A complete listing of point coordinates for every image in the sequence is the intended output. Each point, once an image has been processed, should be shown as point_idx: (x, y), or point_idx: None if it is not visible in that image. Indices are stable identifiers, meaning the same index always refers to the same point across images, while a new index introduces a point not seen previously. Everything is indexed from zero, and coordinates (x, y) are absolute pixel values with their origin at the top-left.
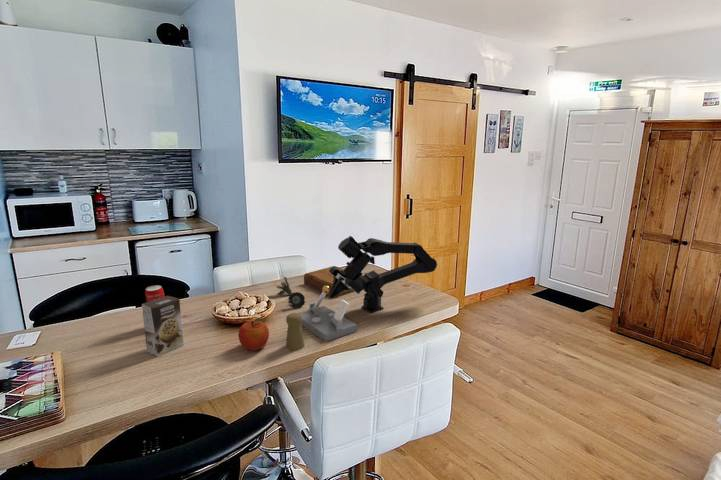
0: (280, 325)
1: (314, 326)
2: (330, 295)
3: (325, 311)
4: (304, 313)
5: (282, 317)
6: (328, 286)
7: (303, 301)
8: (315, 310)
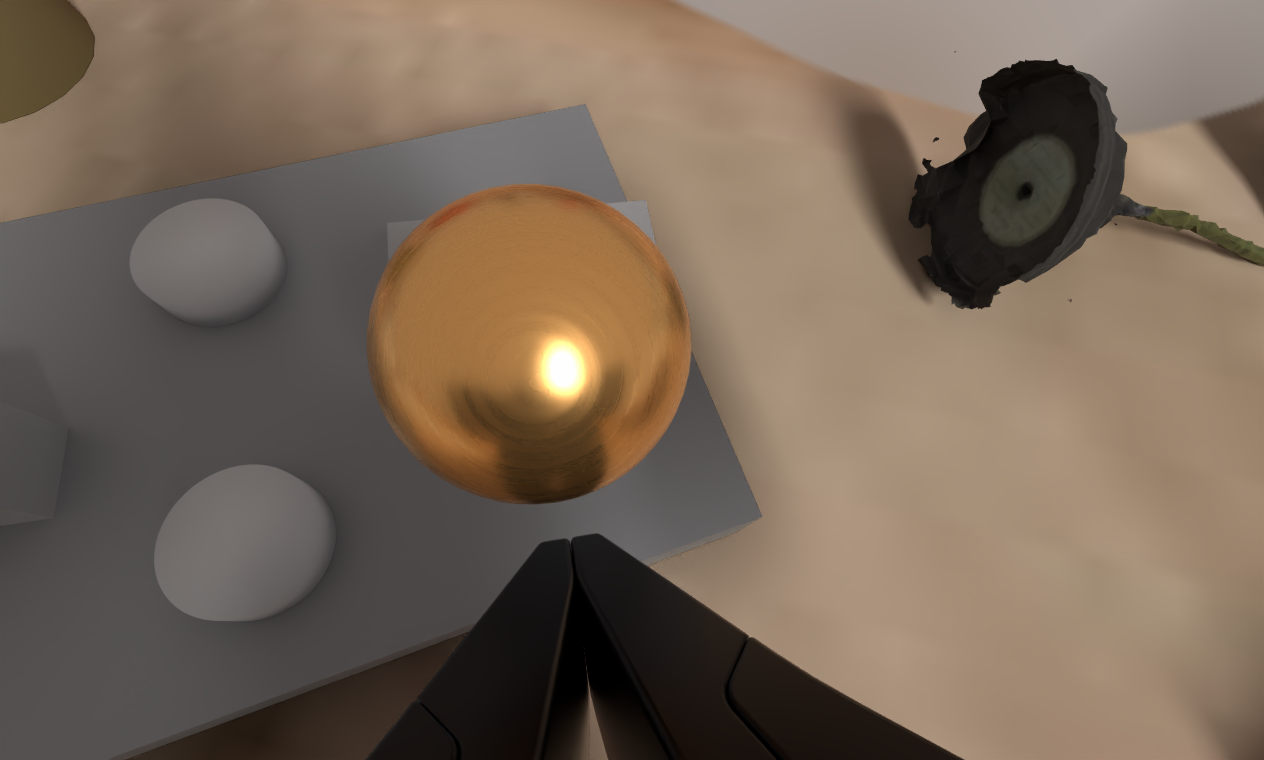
0: (508, 38)
1: (84, 216)
2: (550, 549)
3: None
4: None
5: (690, 82)
6: (468, 363)
7: (996, 282)
8: None
